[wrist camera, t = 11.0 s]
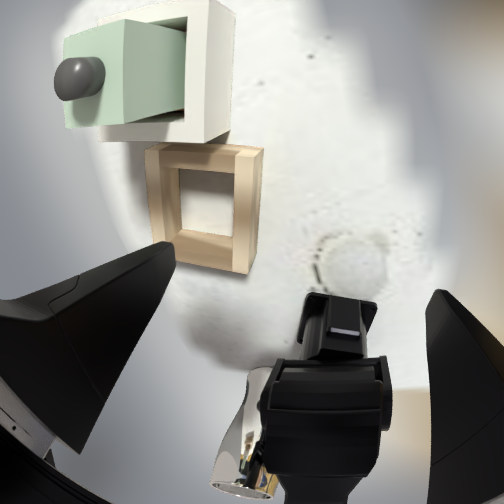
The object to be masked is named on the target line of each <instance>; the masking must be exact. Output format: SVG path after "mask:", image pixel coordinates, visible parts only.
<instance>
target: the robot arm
mask: <svg viewBox="0 0 504 504" xmlns="http://www.w3.org/2000/svg"><path fill="white" fill-rule="evenodd" d="M175 267H176V258H175V248H174V244H173V243H171V242H166V241H160V242H158V243H155V244H153V245H150V246H148V247H145V248H142V249H140V250H137V251H135V252H132V253H130V254H127V255H125V256H123V257H120V258H117V259H115V260H113V261H110V262H108V263H105V264H103V265H100V266H98V267H96V268H93V269H91V270H89V271H86V272H84V273H82V274H80V275H77V276H74V277H72V278H70V279H67V280H65V281H62V282H60V283H58V284H55V285H52V286H50V287H47V288H44V289H41V290H38V291H36V292H33V293H31V294H28V295H25V296H22V297H20V298H17V299H12V300H1V299H0V504H114V503H112V502H110V501H108V500H106V499H104V498H103V497H101V496H99V495H97V494H95V493H94V492H92V491H90V490H88V489H87V488H85V487H83V486H82V485H80V484H78V483H77V482H75V481H74V480H72V479H71V478H69V477H67V476H66V475H65V474H63V473H62V472H60V471H59V470H57V469H56V467H55V463H54V459H53V455H52V451H51V449H50V447H51V446H52V444H53V442H54V441H55V440H57V441H58V442H60V443H61V444H63V445H64V446H66V447H67V448H69V449H71V450H72V451H74V452H75V453H77V454H79V455H80V453H81V452H82V450H83V448H84V446H85V443H86V442H87V439H88V437H89V435H90V433H91V431H92V429H93V427H94V425H95V423H96V421H97V419H98V417H99V415H100V413H101V411H102V409H103V407H104V405H105V402H106V401H107V399H108V397H109V395H110V393H111V391H112V389H113V387H114V385H115V383H116V381H117V380H118V378H119V376H120V374H121V372H122V370H123V368H124V366H125V365H126V363H127V361H128V359H129V357H130V355H131V353H132V352H133V350H134V348H135V346H136V344H137V343H138V341H139V339H140V337H141V336H142V334H143V332H144V330H145V328H146V326H147V325H148V323H149V321H150V320H151V318H152V316H153V314H154V313H155V311H156V309H157V307H158V305H159V304H160V302H161V300H162V297H163V295H164V293H165V291H166V288H167V286H168V284H169V282H170V279H171V277H172V275H173V273H174V270H175ZM311 297H313V298H314V299H311ZM371 307H374V308H371ZM377 309H378V308H377V304H376V303H374V302H369V301H363V300H357V299H350V298H344V297H338V296H332V295H326V294H321V293H315V292H311V293H309V294H308V295H307V298H306V303H305V307H304V312H303V316H302V320H301V325H300V329H299V333H298V337H297V342H298V343H300V344H302V350H301V356H300V360H285V359H277V362H276V364H275V366H274V367H273V369H272V371H271V373H270V375H269V378H268V380H267V382H266V384H265V386H264V388H263V390H262V393H261V395H260V400H259V401H258V402H257V410H258V411H259V412H260V421H261V426H262V428H263V429H264V430H266V437H265V446H264V452H263V458H262V460H263V463H264V466H265V468H266V471H267V473H268V474H274V475H276V477H277V479H278V480H279V482H280V484H281V486H282V487H283V489H284V490H285V502H284V504H347V500H348V495H349V494H350V492H351V491H352V490H353V489H354V488H355V486H356V485H357V484H358V483H359V482H360V480H361V479H362V478H363V477H367V476H368V474H369V473H370V471H371V470H372V468H373V467H374V465H375V463H376V460H377V458H378V455H379V447H380V437H381V431H388V430H389V427H390V423H391V417H392V401H393V400H392V385H391V379H390V373H389V368H388V362H387V357H386V356H379V357H377V358H367V338H366V335H367V333H368V331H369V328H370V326H371V324H372V321H373V319H374V317H375V314H376V312H377ZM425 317H426V348H427V361H428V371H429V383H430V400H431V464H430V465H431V466H430V478H429V489H428V498H427V504H504V346H503V345H502V344H501V343H500V342H499V341H498V340H497V339H496V338H495V337H494V336H493V335H492V334H491V333H490V332H489V331H488V330H487V329H486V327H484V326H483V325H482V324H481V323H480V321H479V320H478V319H477V318H475V316H474V315H472V314H471V313H470V312H469V311H468V310H467V309H466V308H465V307H464V306H463V305H462V304H461V303H460V302H459V301H458V300H457V299H456V298H455V297H454V296H453V295H451V294H450V293H449V292H448V291H447V290H442V289H436V290H435V291H434V293H433V295H432V297H431V299H430V301H429V303H428V305H427V308H426V312H425Z"/></svg>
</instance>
